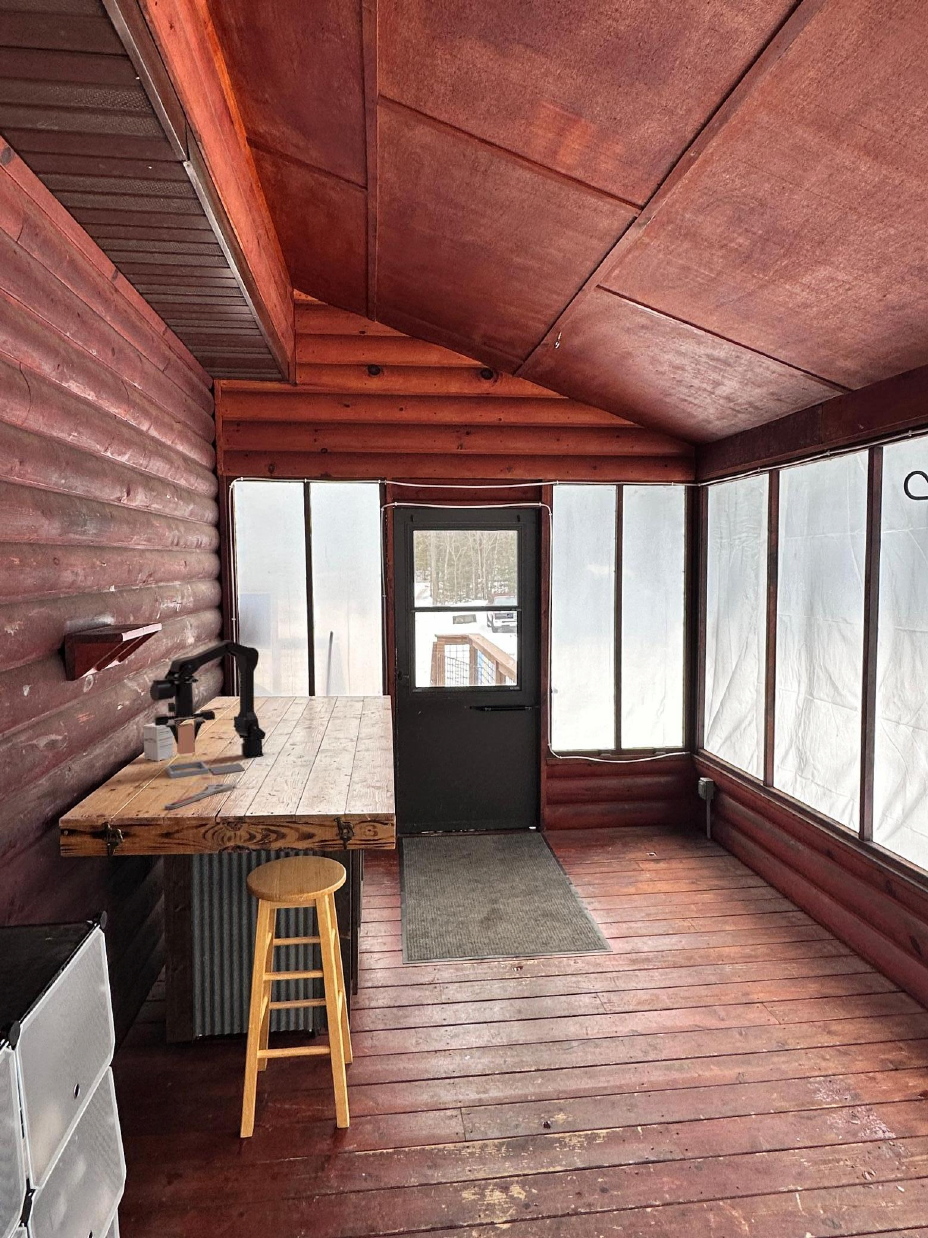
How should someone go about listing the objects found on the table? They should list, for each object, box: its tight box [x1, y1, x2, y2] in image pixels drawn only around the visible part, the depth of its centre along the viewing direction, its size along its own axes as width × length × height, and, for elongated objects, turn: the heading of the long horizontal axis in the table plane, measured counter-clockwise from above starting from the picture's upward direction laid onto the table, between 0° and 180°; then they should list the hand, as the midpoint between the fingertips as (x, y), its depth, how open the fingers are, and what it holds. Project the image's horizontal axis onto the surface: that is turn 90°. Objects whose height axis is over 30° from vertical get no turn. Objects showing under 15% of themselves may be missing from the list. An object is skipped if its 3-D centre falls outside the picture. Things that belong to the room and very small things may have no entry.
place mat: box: [208, 762, 246, 776], centre depth 247 cm, size 10×10×1 cm
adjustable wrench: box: [164, 779, 238, 810], centre depth 218 cm, size 8×26×2 cm, turn 148°
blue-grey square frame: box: [166, 760, 209, 779], centre depth 246 cm, size 12×12×2 cm
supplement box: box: [142, 722, 175, 762], centre depth 264 cm, size 7×7×13 cm
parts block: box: [175, 722, 196, 755], centre depth 245 cm, size 5×5×9 cm
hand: (185, 742), depth 245 cm, fingers closed on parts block, 5 cm apart
